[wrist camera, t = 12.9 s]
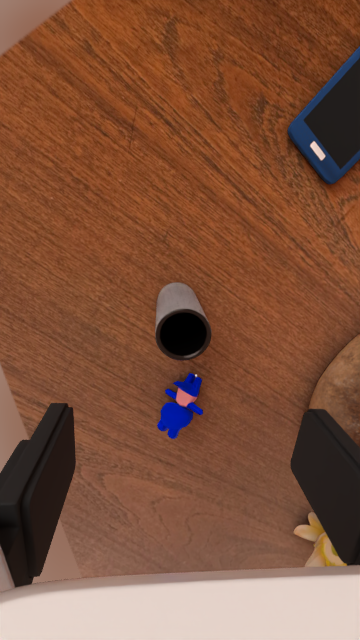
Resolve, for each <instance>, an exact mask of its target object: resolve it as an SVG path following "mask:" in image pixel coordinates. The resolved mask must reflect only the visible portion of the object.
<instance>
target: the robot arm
mask: <svg viewBox="0 0 360 640" xmlns="http://www.w3.org/2000/svg"><path fill="white" fill-rule="evenodd" d="M75 464H76V459H75V438H74V416H73V408H72V407H68V404H67V403H51V404H50V406H49V408H48V409H47V411H46V413H45V415H44V416H43V418H42V420H41V421H40V423H39V425H38V427H37V428H36V430H35V432H34V434H33V435H32V437H31V439H30V440H22V441H20V443H19V444H18V445H17V447H16V449H15V450H14V452H13V453H12V455H11V457H10V458H9V460H8V461H7V463H6V465H5V466H4V468H3V470H2V471H1V473H0V640H360V447H359V446H358V445H357V444H356V443H355V442H354V441H353V440H352V438H351V437H350V436H349V435H348V434H347V433H346V432H345V431H344V430H343V428H342V427H341V426H340V425H339V424H338V423H337V422H336V421H335V420H334V418H333V417H332V416H331V415H330V414H329V413H328V412H327V411H326V410H325V409H309V410H308V411H307V412H305V413H304V415H303V419H302V422H301V426H300V430H299V433H298V437H297V440H296V444H295V448H294V451H293V455H292V458H291V470H292V472H293V474H294V476H295V478H296V479H297V481H298V483H299V485H300V487H301V489H302V490H303V492H304V494H305V496H306V498H307V499H308V501H309V503H310V505H311V507H312V509H313V510H314V512H315V514H316V516H317V518H318V520H319V521H320V523H321V525H322V527H323V529H324V531H325V532H326V534H327V536H328V538H329V540H330V542H331V543H332V545H333V547H334V549H335V551H336V553H337V554H338V556H339V558H340V559H341V561H342V562H343V563H346V564H347V566H324V567H296V568H271V569H247V570H224V571H202V572H181V573H161V574H141V575H120V576H106V577H91V578H77V579H64V580H56V581H48V582H40V583H35V584H32V581H33V578H34V577H37V576H40V574H41V572H42V569H43V566H44V563H45V560H46V557H47V554H48V550H49V548H50V545H51V541H52V539H53V535H54V532H55V529H56V526H57V523H58V520H59V517H60V514H61V511H62V508H63V505H64V502H65V499H66V495H67V492H68V489H69V486H70V483H71V480H72V477H73V474H74V470H75Z"/></svg>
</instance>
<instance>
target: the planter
mask: <svg viewBox="0 0 360 640" xmlns="http://www.w3.org/2000/svg"><path fill="white" fill-rule="evenodd" d="M155 338H156V343H157V345H158V347H159V349H160V350H161V351H162V352H163V353H164V354H165V355H166V356H168V357H170V358H172V359H175V360H190V359H193V358H195V357H197V356H199V355H200V354H202V353H203V352H204V351H205V350H206V348H207V347H208V345H209V343H210V340H211V327H210V324H209V322H208V320H207V318H206V316H205V313H204V311H203V309H202V307H201V305H200V303H199V301H198V299H197V297H196V295H195V293H194V291H193V290H192V289H191V288H190V287H189V286H187V285H185V284H183V283H171V284H169V285H167V286H165V287H164V288H163V289H162V290H161V291H160V293H159V295H158V298H157V310H156V329H155Z"/></svg>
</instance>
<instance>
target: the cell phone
mask: <svg viewBox="0 0 360 640" xmlns="http://www.w3.org/2000/svg"><path fill="white" fill-rule="evenodd" d="M288 135H289V136H290V138H291V140H292V141H293V142H294V144H295V145H296V146H297V148H298V149H299V150H300V151H301V153H302V154H303V155H304V157H305V158H306V159H307V160H308V162H309V163H310V164H311V165H312V167H313V168H314V169H315V171H316V172H317V173H318V174H319V176H320V177H321V178H322V179H323V180H324V181H325V182H326V183H327V184H333V183H335V182H337V181H338V180H339V179H340V178H341V177H342V176H343V175H344V174H345V173H346V172H347V171H348V170H349V169H350V168H351V167H352V166H353V165H354V164H355V163H356V162H357V161H358V160H359V159H360V46H359V48H358V49H357V50H356V51H355V52H354V53H353V54H352V55H351V57H350V58H349V59H348V60H347V61H346V62H345V63H344V64H343V65H342V67H341V68H340V69H339V70H338V71H337V72H336V73H335V74H334V76H333V77H332V78H331V79H330V80H329V81H328V82H327V83H326V85H325V86H324V87H323V88H322V89H321V90H320V91H319V92H318V93H317V95H316V96H315V97H314V98H313V99H312V100H311V101H310V102H309V104H308V105H307V106H306V107H305V108H304V109H303V110H302V111H301V112H300V114H299V115H298V116H297V117H296V118H295V119H294V121H293V122H292V123H291V124H290V126H289V128H288Z"/></svg>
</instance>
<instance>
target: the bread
mask: <svg viewBox="0 0 360 640" xmlns="http://www.w3.org/2000/svg"><path fill="white" fill-rule="evenodd" d="M309 409H325V410H326V411H327V412H328V413H329V414H330V415H331V416H332V417H333V418H334V420H335V421H336V422H337V423H338V424H339V425H340V426H341V427H342V428H343V430H344V431H345V432H346V433H347V434H348V435H349V436H350V437H351V438H352V440H353V441H354V442H355V443H356V444H357V445H358V446H359V447H360V334H359V335H358V336H356V337H355V338H354V339H353V340H351V341H350V342H349V343H348V344H347V345H346V346H345V347H344V348H343V349H342V351H341V352H340V353H339V354H338V355H337V356H336V357H335V358H334V360H333V361H332V362H331V363H330V365H329V366H328V367H327V368H326V370H325V371H324V373H323V374H322V376H321V377H320V379H319V381H318V383H317V385H316V388H315V390H314V392H313V395H312V397H311V400H310V404H309V408H308V410H309Z"/></svg>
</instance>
